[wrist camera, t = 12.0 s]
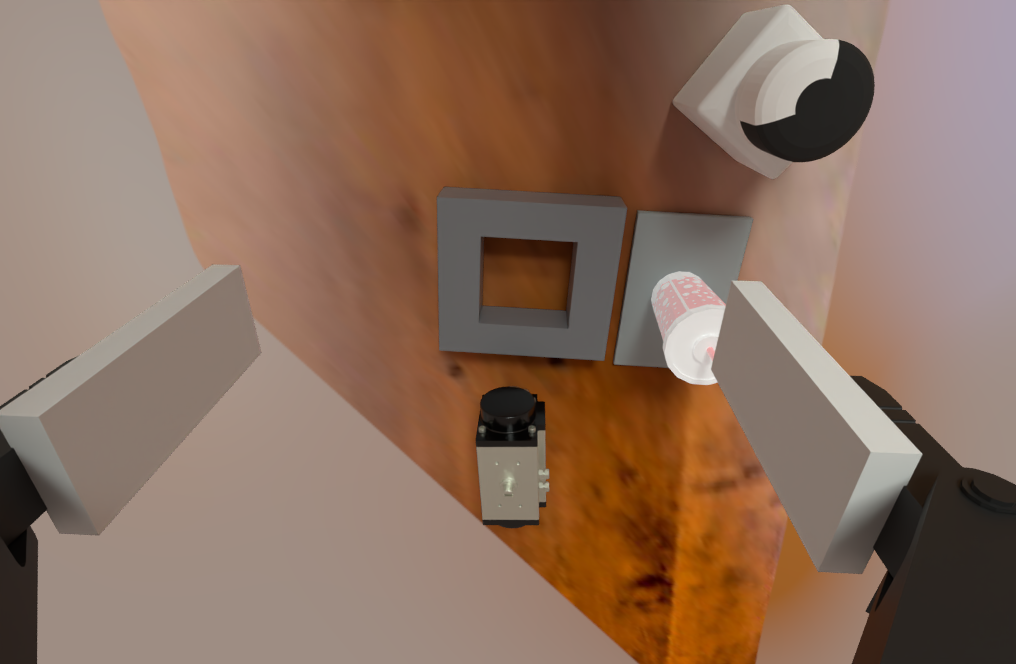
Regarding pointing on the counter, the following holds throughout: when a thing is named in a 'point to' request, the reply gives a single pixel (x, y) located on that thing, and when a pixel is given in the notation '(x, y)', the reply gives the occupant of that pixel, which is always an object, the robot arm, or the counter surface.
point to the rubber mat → (668, 249)
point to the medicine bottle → (778, 92)
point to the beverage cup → (688, 325)
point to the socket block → (537, 218)
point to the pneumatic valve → (511, 457)
